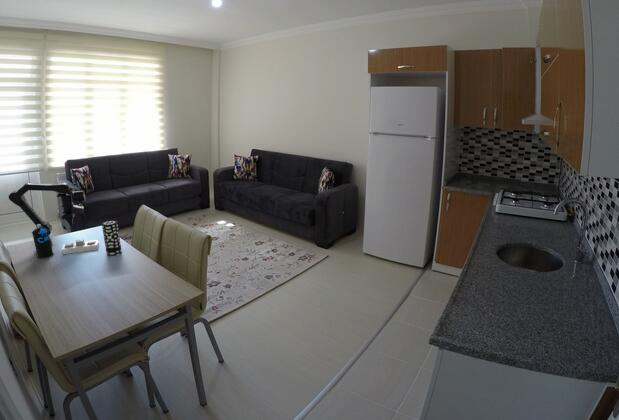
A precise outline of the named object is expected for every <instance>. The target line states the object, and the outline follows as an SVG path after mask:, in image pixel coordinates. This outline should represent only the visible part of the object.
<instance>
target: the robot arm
mask: <svg viewBox="0 0 619 420" xmlns="http://www.w3.org/2000/svg"><path fill="white" fill-rule="evenodd" d="M28 191H42V192H43V191H44V192H45V191H46V192H54V193H58V194H56V197H57V198H60V201H61V207H62V215H61V216H60V217H61V220H65V221H66V222H67V224H68V225H69V226H70V227H72V226H74V225H73V224H74V223H73V222H74V217H75V216H76V213H80V214H83V213H84V208H85V207H84V206H83V204H82V203H79V204H78V205H77V204H75V203H74V202H76V203H77V202H86V201H87V200H86V199H87V198H86V194H85V191H84V190H79V191H75V190H74V188H72V187H71V185H70V184H69V183H68V182H58V183H31V182H26V183H25V184H23V186H21V187H19V189H17V190H14V191H12V192H10V194H8V200H9V201H10V202H12V204H14V205H16V206H17V207H19V208H20V209H21V211H23V212H24V213H25V215H26V216H27V217H28V218H29V219H30V220H31V222H33V224H34V225H35V227H36V228H37V225H38V224H41V227H42V228H46V229H48V230H49V231H48V232H49V237H50V241H51V246H53V239H52V238H51V234H52V231H53V225H52V224H50V222H49V221H44V220H43V219H42V218H41V216H39V214H37V213H36V211H35V210H34V209H33V208H32V207H31V206H30V205H31V204H29V203H28V201H27V199H26V196H25V194H26V193H28ZM73 201H74V202H73Z"/></svg>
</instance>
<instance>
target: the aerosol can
mask: <svg viewBox="0 0 619 420" xmlns="http://www.w3.org/2000/svg"><path fill="white" fill-rule="evenodd" d="M48 231H49V230H48V229H46V228H42V227H41V224H38V225H37V227H36V228H35V229H33V230H32V231H31V234H32V239H33V243H34V247H35V250H36V251H35V252H36V255H37V256H36V258H37V259H47V258H50V257H52V256H54V254H55V253H54V252H53V247H52V246H53V245H51V241H50V238H51V236H50V235H49V232H48ZM49 236H50V237H49Z"/></svg>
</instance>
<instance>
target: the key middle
mask: <svg viewBox="0 0 619 420" xmlns="http://www.w3.org/2000/svg"><path fill="white" fill-rule="evenodd" d="M84 242H85V239H84V238H82V239H81V238H80V239H76V240H75V243H76V246H84Z"/></svg>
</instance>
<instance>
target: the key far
mask: <svg viewBox="0 0 619 420" xmlns="http://www.w3.org/2000/svg"><path fill="white" fill-rule="evenodd" d="M87 241H88V242H87ZM87 241H86V242H87V245H91V244H96V243H95V239H92V240H87Z"/></svg>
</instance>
